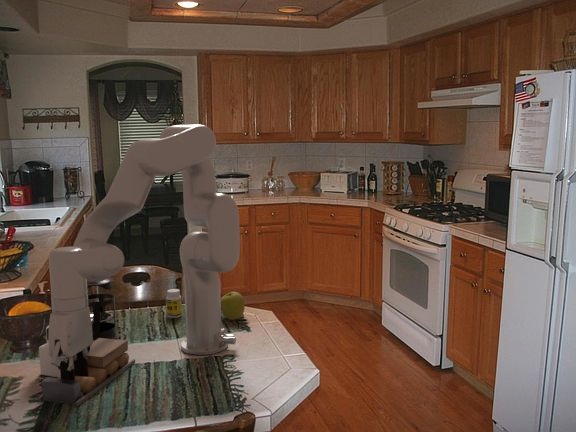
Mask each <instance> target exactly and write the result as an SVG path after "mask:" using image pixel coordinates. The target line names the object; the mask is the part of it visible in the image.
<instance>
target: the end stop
mask: <svg viewBox="0 0 576 432" xmlns="http://www.w3.org/2000/svg"><path fill="white" fill-rule="evenodd" d="M41 388H42V391H41V392H42V394H43V400H42V401H43V402H52V403H58V404H59V403H61V404H67V405H74V406H75V402H76V401H78V400H79V399H80V398H81V394H80V381H77V380H68V379H59V378H58V377H51V376H47V377H46V378H45V379H43V380H41Z"/></svg>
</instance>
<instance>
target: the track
mask: <svg viewBox="0 0 576 432" xmlns="http://www.w3.org/2000/svg"><path fill="white" fill-rule="evenodd" d="M135 363H136V359H135V358H134V359H133V358H132V359H131V360H130V355H129V353H128V352H124V353H123V354H122V355H120V356H119V357H117V358H116V359H114V360H113V361H112V362H110V363H109V364H107V365H106V366H105V367H95V366H88V377H93V378H95V379H96V387H95V388H94V389H93V390H91V391H90V392H89V393H85V394H84V393H82V392H80V394H81V398H80V399H79V400H78V401H76V402H75V405H74V406H76V407H79V406H80V405H81V404H83V403H84V402H86V401H87V400H88V399H90V398H91V397H92V396H94V395H95V394H96V393H97V392H98V391H100V390H102V389H103V387H105V386H107V385H108V384H109V383H111V381H113V380H115V378H117V377H118V376H119V375H121V374H122V373H123V372H125V371H126V370H127V369H129V368H130V367H131V366H133V365H134V364H135ZM119 368H120V369H119ZM72 369H74V366H72ZM108 376H109V377H108ZM42 401H43V393H42V394H40V396H38V397H37V402H42Z"/></svg>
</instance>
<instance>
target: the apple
mask: <svg viewBox="0 0 576 432" xmlns="http://www.w3.org/2000/svg"><path fill="white" fill-rule="evenodd" d="M245 306H246V305H245V300H244V297H243V295H242V294H241V293H239V292H237V291H234V289H232V290H231V291H230V292H228V293H226V294H224V295H223V296H222V297H221V314H222V315H223V317H225V319H227V320H230V321H233V320H241V318H242V316H243V315H244V312H245Z"/></svg>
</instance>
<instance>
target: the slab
mask: <svg viewBox="0 0 576 432" xmlns="http://www.w3.org/2000/svg"><path fill="white" fill-rule="evenodd" d="M128 343H129V342H128V340H127V339H125V340H124V339H117V338H116V339H105V338H98V339H97V340H95V341H93V343H92V345H91V347H90V350H89V353H88V355H89V358H88V360H86V361H87V364H88V366H95V367H105V366H106V365H107V364H109V363H110V362H112V361H113V360H114V359H116V358H117V357H119V356H120V355H122V354H123V353H127V351H128V350H129V344H128ZM74 360H77V359H76V358H75V355H74V356H73V364H74Z"/></svg>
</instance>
